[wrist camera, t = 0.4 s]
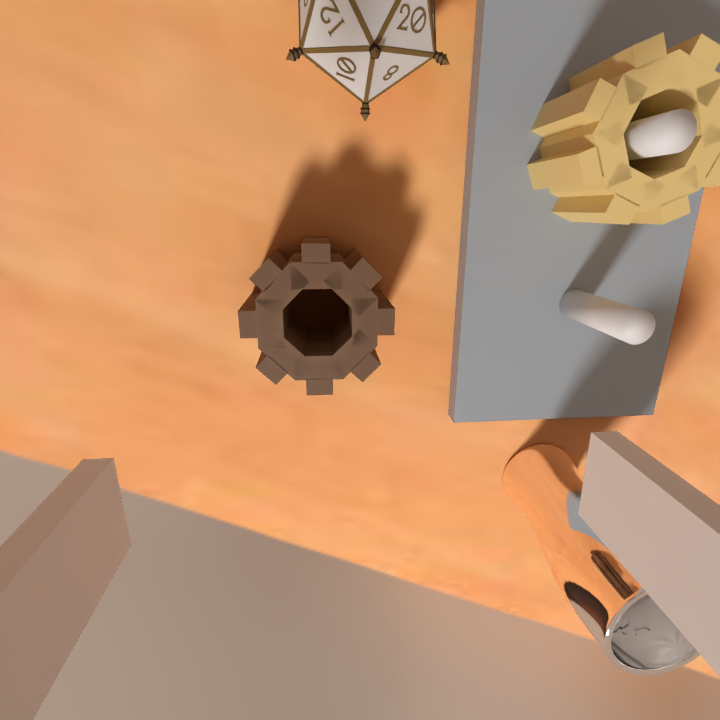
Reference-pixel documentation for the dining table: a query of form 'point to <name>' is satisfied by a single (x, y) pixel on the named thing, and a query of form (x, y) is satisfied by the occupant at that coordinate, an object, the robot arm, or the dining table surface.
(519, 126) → the gear board
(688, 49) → the gear
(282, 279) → the walnut gear
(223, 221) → the dining table surface
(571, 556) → the beer glass
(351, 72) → the game die
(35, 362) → the dining table surface
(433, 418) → the dining table surface
